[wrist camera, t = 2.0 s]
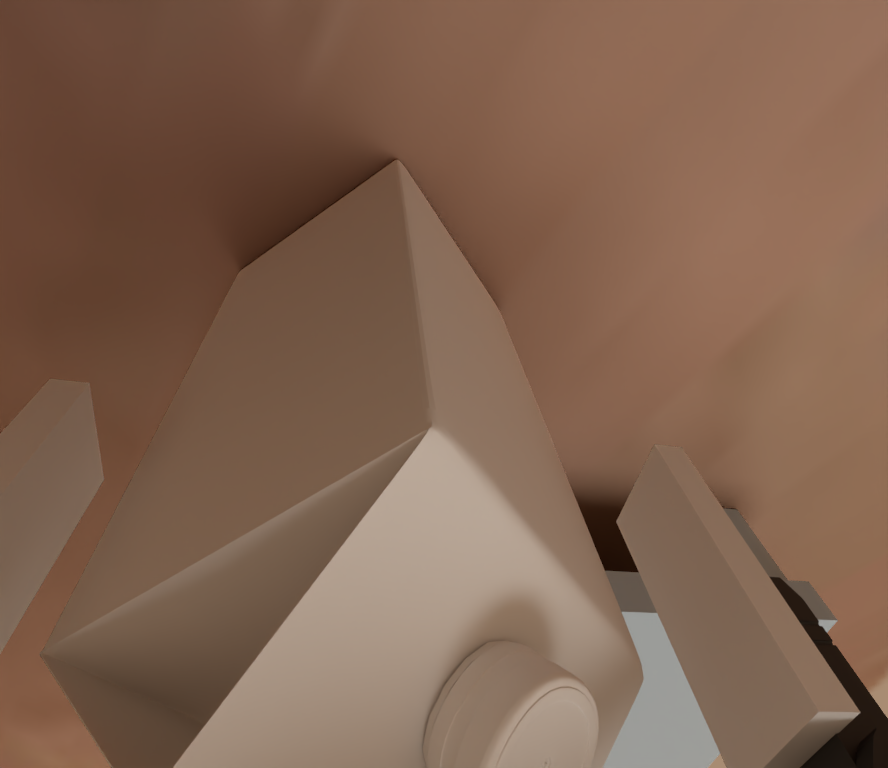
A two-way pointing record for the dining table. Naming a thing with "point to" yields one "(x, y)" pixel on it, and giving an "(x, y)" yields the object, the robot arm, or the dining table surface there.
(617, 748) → the grey square footed tray
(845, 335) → the dining table surface
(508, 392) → the milk carton
